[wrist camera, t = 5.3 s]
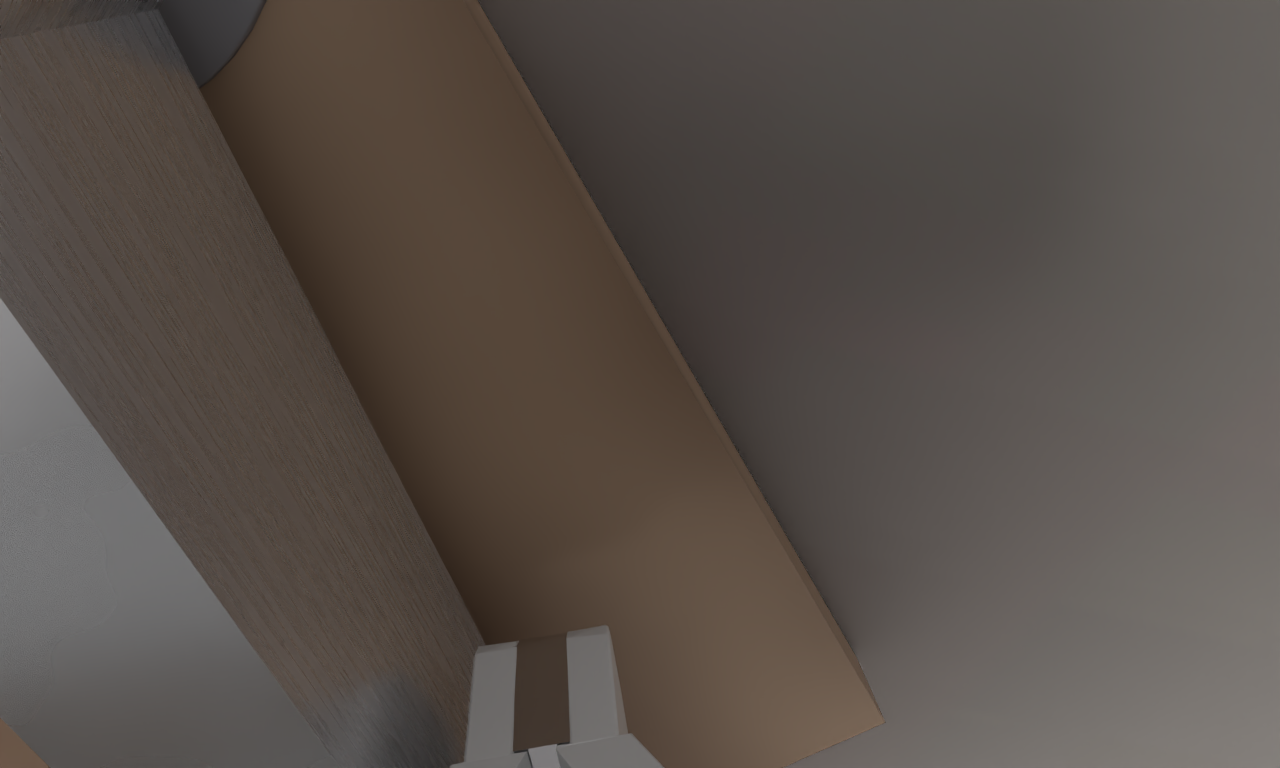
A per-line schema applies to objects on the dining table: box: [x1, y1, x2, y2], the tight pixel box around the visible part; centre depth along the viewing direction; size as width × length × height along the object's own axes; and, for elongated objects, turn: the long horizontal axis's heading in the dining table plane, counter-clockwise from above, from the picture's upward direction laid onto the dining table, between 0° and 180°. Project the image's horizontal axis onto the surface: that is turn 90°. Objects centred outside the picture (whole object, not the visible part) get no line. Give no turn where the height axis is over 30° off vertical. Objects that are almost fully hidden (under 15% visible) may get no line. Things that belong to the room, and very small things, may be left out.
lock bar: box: [0, 0, 486, 768], centre depth 7 cm, size 17×4×6 cm, turn 15°
